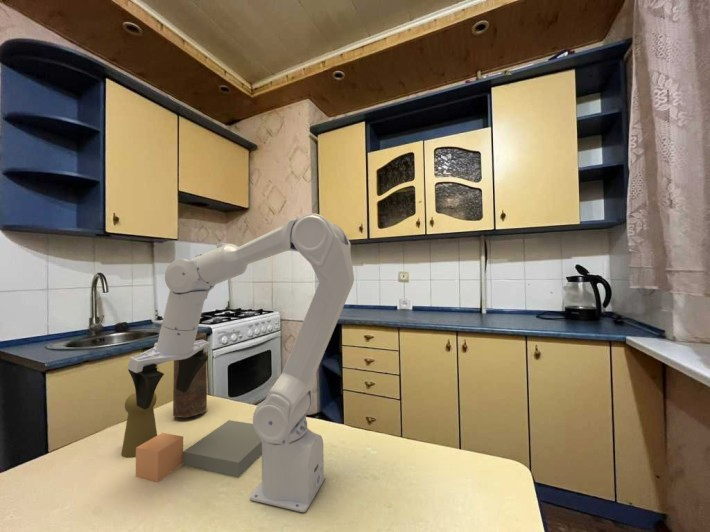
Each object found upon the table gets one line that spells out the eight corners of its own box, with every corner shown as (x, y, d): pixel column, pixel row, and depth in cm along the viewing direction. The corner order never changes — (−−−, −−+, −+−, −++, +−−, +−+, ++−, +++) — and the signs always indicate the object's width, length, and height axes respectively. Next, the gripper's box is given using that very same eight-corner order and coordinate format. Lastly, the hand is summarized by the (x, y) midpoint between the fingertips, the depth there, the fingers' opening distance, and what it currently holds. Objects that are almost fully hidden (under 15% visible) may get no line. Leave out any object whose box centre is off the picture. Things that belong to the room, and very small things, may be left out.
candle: (196, 422, 68) (196, 337, 69) (165, 422, 69) (166, 337, 69) (212, 408, 76) (212, 331, 77) (184, 408, 76) (185, 331, 77)
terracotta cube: (183, 464, 53) (183, 436, 54) (157, 482, 49) (157, 452, 49) (162, 459, 55) (162, 432, 55) (135, 477, 50) (135, 447, 50)
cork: (138, 459, 55) (139, 400, 55) (112, 455, 56) (113, 398, 56) (165, 441, 61) (166, 388, 61) (141, 438, 62) (142, 386, 62)
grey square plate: (276, 441, 61) (276, 427, 61) (238, 480, 49) (238, 462, 49) (228, 433, 64) (228, 420, 64) (182, 468, 53) (182, 451, 53)
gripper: (195, 314, 60) (181, 377, 61) (122, 324, 46) (103, 406, 47) (222, 324, 58) (207, 389, 58) (154, 338, 44) (134, 423, 45)
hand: (163, 397), depth 52 cm, fingers open, 7 cm apart
